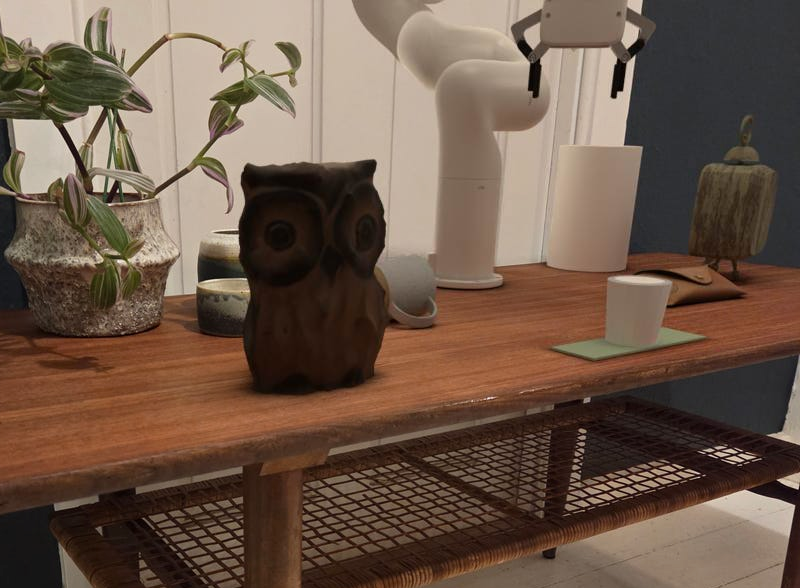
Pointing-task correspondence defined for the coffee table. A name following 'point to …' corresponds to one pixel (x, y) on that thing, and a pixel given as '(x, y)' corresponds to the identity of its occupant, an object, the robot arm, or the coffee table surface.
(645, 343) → the white tapered cup
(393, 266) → the ceramic mug
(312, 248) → the owl
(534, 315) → the coffee table surface
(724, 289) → the sunglasses case
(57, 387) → the coffee table surface
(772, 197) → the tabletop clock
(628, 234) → the canister
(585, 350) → the edge strip
